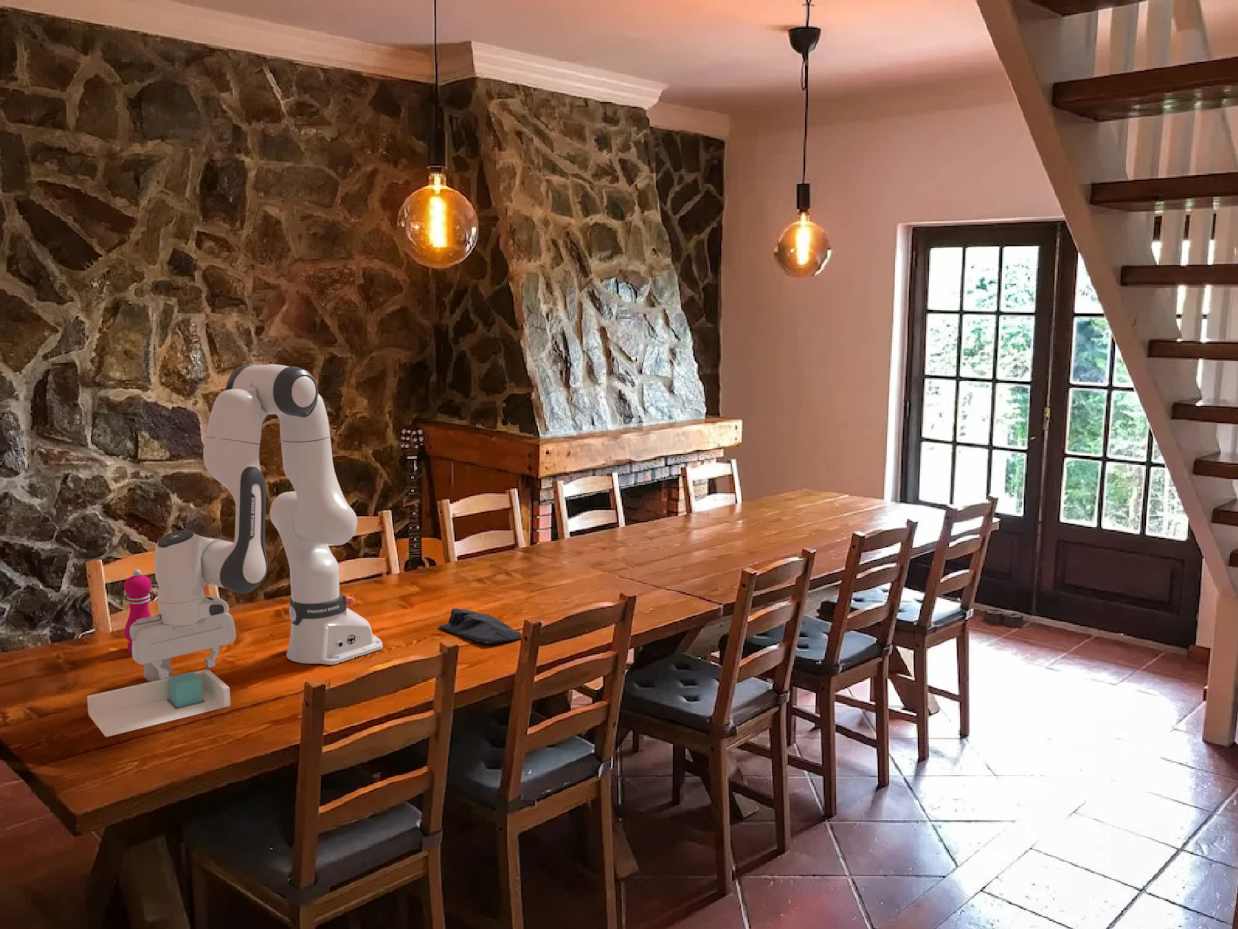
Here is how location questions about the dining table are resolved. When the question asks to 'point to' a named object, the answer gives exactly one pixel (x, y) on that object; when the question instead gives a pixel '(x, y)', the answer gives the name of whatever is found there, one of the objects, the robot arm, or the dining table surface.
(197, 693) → the cube
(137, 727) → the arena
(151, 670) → the salt shaker
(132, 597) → the pepper mill
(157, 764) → the dining table surface
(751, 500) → the dining table surface
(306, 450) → the robot arm
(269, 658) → the dining table surface
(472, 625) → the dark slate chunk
